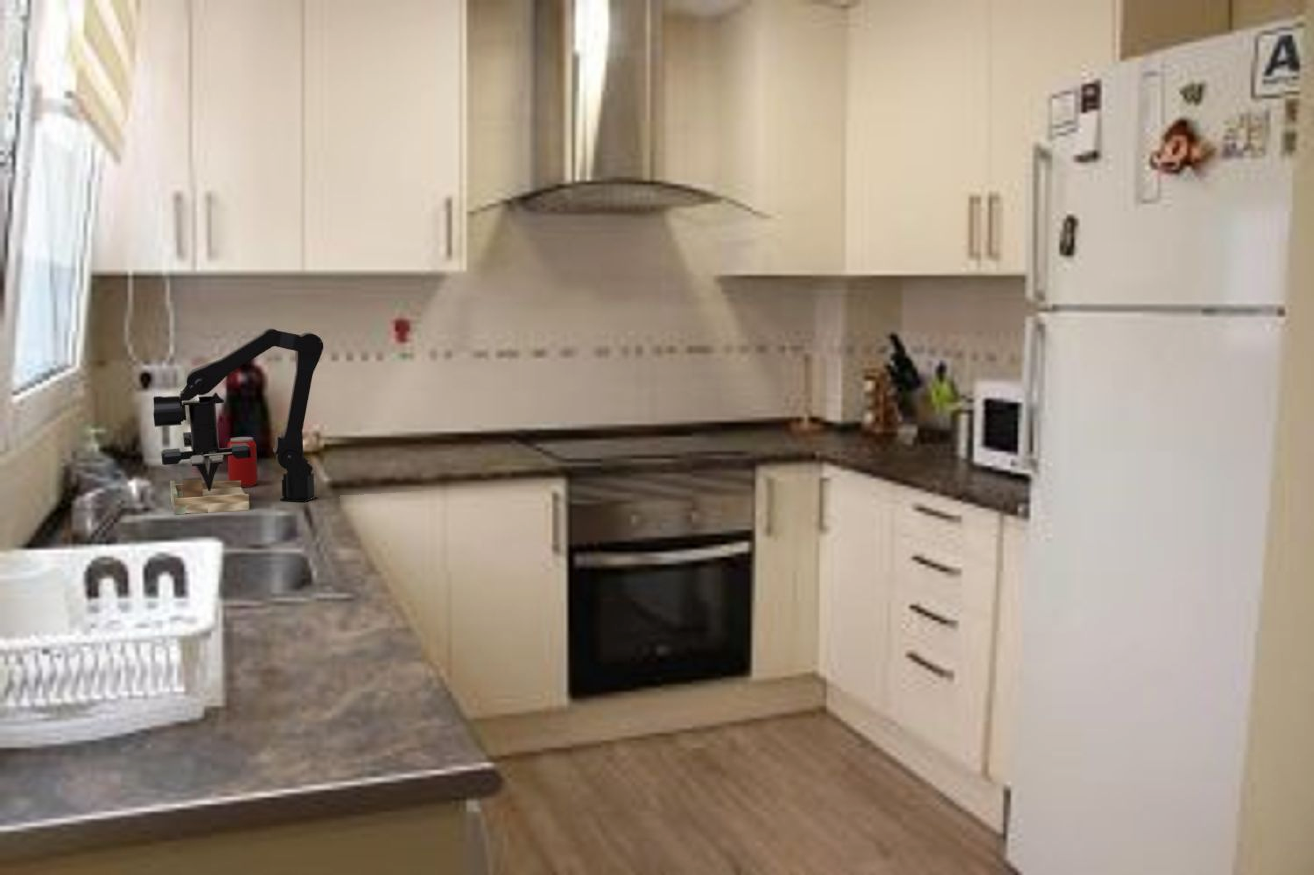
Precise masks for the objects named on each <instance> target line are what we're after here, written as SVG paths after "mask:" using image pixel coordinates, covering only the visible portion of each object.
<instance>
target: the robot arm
mask: <svg viewBox="0 0 1314 875" xmlns="http://www.w3.org/2000/svg"><path fill="white" fill-rule="evenodd" d="M273 347H275V348H276V347H277V348H280V349H281V348H282V349H286V350H290V351H294V352H295V353H294V355H295V357H294V359H295V373H294V380H293V384H292V390H291V395H290V401H289V408H288V412H287V416H286V417H287V418H286V423H285V427H284V430H283V432H282V434H279V433H276V434H275V445H274V447H273V448H272V451H273V453H274V455H275V459H276V461H277V463H278V464H279V466H280V467H281V468H283V469H284V470H286V471H287V472H283V473H282V478H283V479H281V496H282V497H280V499H279V500H280V501H285V502H288V501H289V502H301V501H302V502H301V503H303V501H306V500H308V501H310V500H309V499H311V498H313V497H316V496H318V494H315V475H314V474H315V473H314V472H313V469H314V467H313V466H312V464H311V462H310V461H309V460H308V459H306V458H305V457H304V440H303V437H304V435H303V429H304V424H305V420H306V413H307V408H308V401H309V397H310V390H311V387H312V380H313V376H314V372H315V369H316V368H317V365H318V364H319V362H320V358H321V357H322V353H323V351H324V342H323V340H322V339H321V337H320V336H318V335H317V334H315V333H312V332H303V333H301V334H298V333H297V334H296V333H292V332H286V331H281V330H277V329H275V328H271V327H270V328H267V329H265V330H264V331H263V332H262V333H260V334H259V335H257V336H255V337H254V338H252V339H250V340H249V341H247V342H245V343H244V344H242V345H241V346H239V347H237V348H236V349H234V350H233V351H231V352H230V353H228V354H226V355H224V356H223V357H222V358H220V359H216V360H214V361H211V362H209V363H206V364H204V365H201V366H199V367H196V368H193V369H192V370H190V371H189V372H188V374H187V376H186V385H185V387H184V388H183V389H182V390H181V391H180V393H179V395H170V396H169V395H168V396H162V395H158V396H157V395H156V396H153V397H152V399H153V411H152V413H153V423H154V424H153V425H154V428H155V427H158V428H159V427H170V426H173V427H174V426H182V424H183V422H184V421H187V411H186V410H187V408H186V406H188V414H189V424H190V426H189V427H190V431H188V432H187V431H186V432H182V436H183V438H182V439H183V446H184V448H191V450H186V451H185V450H184V451H181V450H180V449H181V448H179V447H178V448H166V449H162V451H161V452H160V454H161V455H160V456H161V464H162V465H163V466H169V465H178V464H179V463H180V462H181V461H184V460H189V461H190V466H191V467H196V468H197V469H198V471H199V473H200V474H201V477H202V478H203V480H204V483H206V486H207V488H208V491H211V486H212V482H214V478H215V475H216V473H217V470H218V468H219V466H220V465H222V464H223V465H224V459H223V458H224V457H228V456H234V457H235V458H236V459H241V458H250V457H251V454H250V447H249V446H248V445H247V444H246V443H239V444H230V448H228V447H224V448H220V442H219V429H218V417H217V407H216V406H217V405H216V404H223V403H225V400H224V398H223V397H221V396H220V395H219V394H218V392H217V391H216V392H214V393H213V394H212V395H209V396H208V395H207V394H209V393H210V392H212V390H214V389H215V388H216V387H217V386H218V385H219V384H220V383H221V382H222V381H223V380H225V379H226V378H227V377H228V376H229V375H230V374H231V373H233V372H235V371H236V370H237V369H239V368H241V367H242V366H244V365H245V364H248V363H249V362H250V361H252V360H254V359H255V358H258V357H259V356H260V355H261V354H263V353H265V352H266V351H269V350H270V349H271V348H273ZM204 395H205V396H204ZM197 396H199V397H198V400H193V401H192V399H194V398H195V397H197ZM206 458H208V459H207V460H208V461H207V464H208V467H207V465H206V461H205V459H206ZM207 468H208V469H207ZM316 498H317V497H316ZM311 500H312V499H311ZM306 502H307V501H306Z"/></svg>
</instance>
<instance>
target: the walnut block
mask: <svg viewBox="0 0 1314 875" xmlns="http://www.w3.org/2000/svg"><path fill="white" fill-rule="evenodd" d="M181 480H182V481H181V484H183V497H184V498H191V497H203V487H202V483H203V479H202V477H189V478H188V477H187V478H182V479H181Z"/></svg>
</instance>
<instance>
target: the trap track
mask: <svg viewBox="0 0 1314 875" xmlns="http://www.w3.org/2000/svg"><path fill="white" fill-rule="evenodd" d="M169 482H170V484H169V485H170V502H171V505H172V509H173V514H174V515H175V514H180V515H186V514H185V513H194V514H207V513H206V512H208V513H209V514H210V513H221V512H234V511H235V512H236V511H249V510H250V494H249V493H245V492H244V490H243V487H241V480H240V481H229V480H227V481H226V480H225V481H213V482H212V486H211V491H208V488H207V486H206V483H205V482H202V487H203V497H191V498H184V497H183V483H175V480H170V481H169Z"/></svg>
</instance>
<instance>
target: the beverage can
mask: <svg viewBox="0 0 1314 875" xmlns="http://www.w3.org/2000/svg"><path fill="white" fill-rule="evenodd" d="M239 443H246V444H247V445H248V446H249V447H250V454H251V457H250V458H241V459H236V458H235V457H234V456H227V466H228V467H227V469H228V470H227V471H228V481H240V480H241V488H251V487H253V486H255V485H256V484H257V483H258V458H257V457H258V456H257V455H258V454H257V443H256V442H255V440H254V437H251V436H238V437H230V440H229V441H228V444H227V448H230V444H239Z"/></svg>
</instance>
